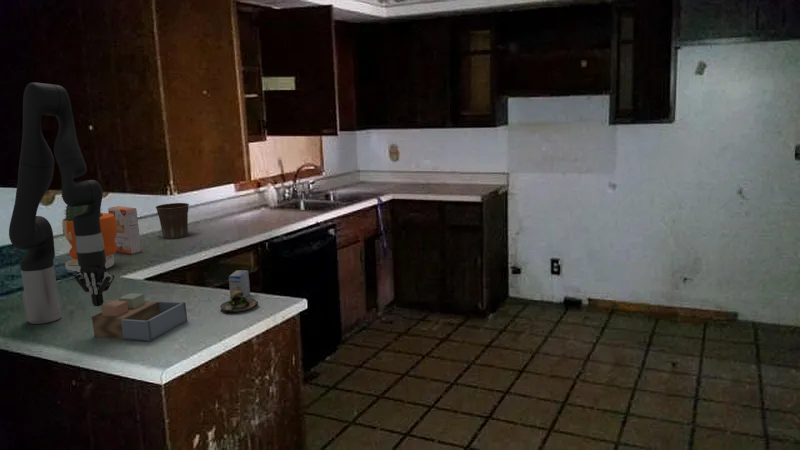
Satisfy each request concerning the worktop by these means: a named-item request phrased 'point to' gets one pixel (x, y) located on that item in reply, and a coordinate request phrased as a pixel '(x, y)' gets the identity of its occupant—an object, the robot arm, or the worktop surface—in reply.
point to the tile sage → (133, 300)
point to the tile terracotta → (114, 308)
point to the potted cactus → (107, 231)
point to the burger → (238, 303)
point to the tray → (155, 322)
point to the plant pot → (173, 219)
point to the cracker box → (126, 229)
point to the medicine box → (239, 282)
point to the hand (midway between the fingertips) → (98, 305)
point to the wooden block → (112, 324)
